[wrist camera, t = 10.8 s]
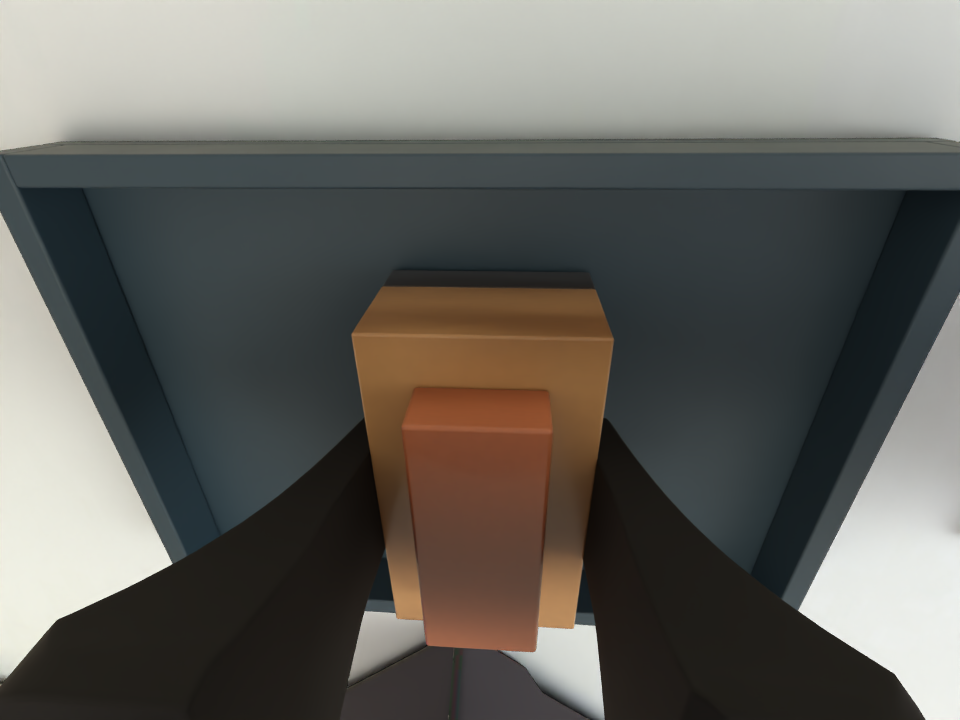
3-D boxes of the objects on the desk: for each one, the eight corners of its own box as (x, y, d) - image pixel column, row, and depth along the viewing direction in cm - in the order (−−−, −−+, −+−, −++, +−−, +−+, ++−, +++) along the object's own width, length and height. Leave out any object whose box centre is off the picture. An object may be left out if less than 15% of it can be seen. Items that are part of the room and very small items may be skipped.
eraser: (391, 269, 11) (326, 370, 7) (590, 271, 11) (629, 378, 7) (418, 520, 15) (385, 669, 11) (563, 526, 15) (579, 682, 11)
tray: (936, 137, 10) (1033, 152, 8) (755, 575, 16) (784, 638, 14) (61, 141, 11) (-30, 154, 9) (224, 546, 17) (189, 600, 16)
